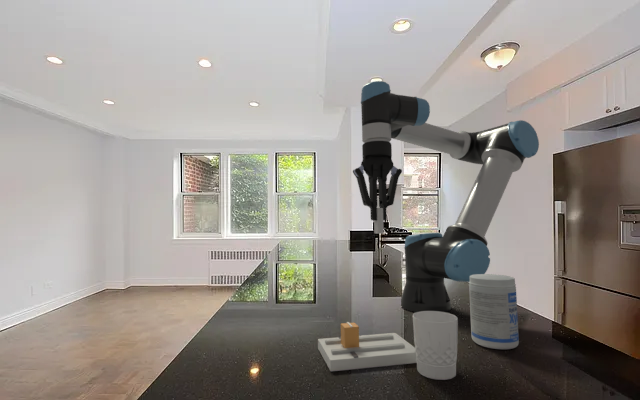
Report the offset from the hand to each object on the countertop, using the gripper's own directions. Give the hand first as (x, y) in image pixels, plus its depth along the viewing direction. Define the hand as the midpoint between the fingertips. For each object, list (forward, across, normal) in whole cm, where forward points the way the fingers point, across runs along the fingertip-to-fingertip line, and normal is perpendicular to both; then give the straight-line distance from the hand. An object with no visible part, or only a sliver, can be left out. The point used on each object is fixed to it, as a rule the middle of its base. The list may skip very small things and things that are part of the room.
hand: (378, 233), depth 90 cm
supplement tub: (+25, -21, +15) cm, 36 cm away
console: (+24, +9, +15) cm, 30 cm away
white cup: (+25, 0, +26) cm, 35 cm away
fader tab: (+22, +13, +15) cm, 29 cm away
